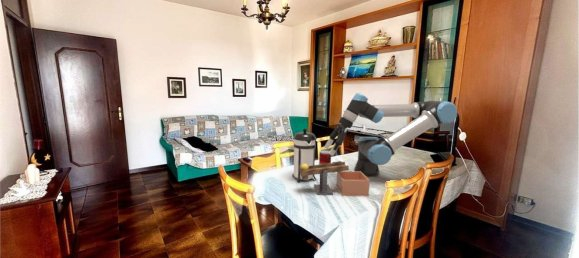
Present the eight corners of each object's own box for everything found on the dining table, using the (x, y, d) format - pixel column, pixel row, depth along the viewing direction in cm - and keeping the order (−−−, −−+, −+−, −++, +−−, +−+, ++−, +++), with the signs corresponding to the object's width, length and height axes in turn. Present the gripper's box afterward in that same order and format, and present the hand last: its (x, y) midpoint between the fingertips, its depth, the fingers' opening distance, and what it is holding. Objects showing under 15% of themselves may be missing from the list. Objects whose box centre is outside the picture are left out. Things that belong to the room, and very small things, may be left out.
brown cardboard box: (359, 185, 132) (360, 171, 130) (368, 195, 119) (369, 180, 117) (336, 185, 131) (336, 171, 130) (342, 195, 118) (342, 180, 117)
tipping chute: (301, 179, 119) (300, 169, 118) (299, 171, 132) (298, 161, 131) (349, 174, 120) (348, 163, 119) (342, 166, 133) (341, 156, 132)
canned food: (328, 170, 157) (328, 153, 155) (317, 167, 161) (317, 152, 159) (332, 167, 163) (333, 151, 161) (321, 165, 167) (322, 149, 166)
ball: (308, 169, 124) (307, 162, 124) (309, 171, 120) (308, 164, 120) (301, 170, 124) (300, 163, 124) (301, 173, 120) (300, 165, 120)
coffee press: (321, 177, 144) (323, 127, 139) (308, 185, 130) (310, 131, 126) (297, 171, 153) (297, 125, 148) (282, 179, 140) (283, 128, 135)
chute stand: (316, 194, 119) (317, 170, 117) (313, 186, 130) (314, 163, 128) (332, 194, 119) (333, 170, 117) (328, 186, 130) (329, 163, 128)
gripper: (336, 113, 146) (319, 143, 148) (348, 118, 121) (326, 154, 124) (347, 119, 147) (329, 149, 149) (360, 126, 122) (339, 161, 125)
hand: (328, 151), depth 136 cm, fingers open, 13 cm apart
